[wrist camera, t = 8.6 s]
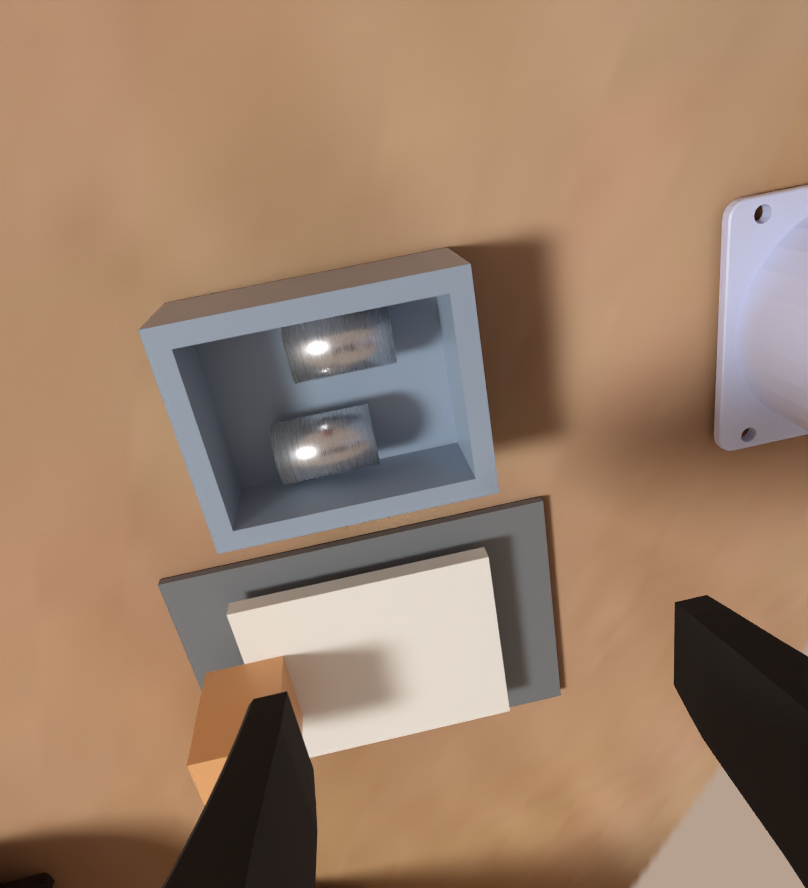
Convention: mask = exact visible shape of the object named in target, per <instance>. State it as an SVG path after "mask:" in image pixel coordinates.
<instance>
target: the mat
mask: <svg viewBox="0 0 808 888" xmlns="http://www.w3.org/2000/svg"><path fill="white" fill-rule="evenodd" d="M481 547H484V548H485V550H486V552H487V555H488V557H489V564H490V571H491V578H492V585H493V593H494V600H495V607H496V614H497V622H498V629H499V636H500V643H501V651H502V658H503V665H504V672H505V680H506V687H507V694H508V701H509V707H513V706H517V705H521V704H526V703H530V702H534V701H539V700H543V699H547V698H551V697H556V696H560V695H561V693H560V682H559V671H558V660H557V649H556V638H555V627H554V616H553V605H552V594H551V583H550V572H549V561H548V550H547V539H546V527H545V516H544V505H543V500H542V499H541V497H536V498H532V499H527V500H523V501H518V502H513V503H509V504H504V505H500V506H495V507H491V508H486V509H481V510H477V511H472V512H468V513H463V514H458V515H454V516H449V517H445V518H440V519H436V520H431V521H426V522H422V523H417V524H413V525H408V526H403V527H399V528H394V529H390V530H385V531H381V532H376V533H371V534H367V535H362V536H358V537H353V538H348V539H344V540H339V541H335V542H330V543H326V544H321V545H316V546H312V547H307V548H303V549H298V550H293V551H289V552H284V553H280V554H275V555H271V556H266V557H261V558H257V559H252V560H248V561H243V562H238V563H234V564H229V565H225V566H220V567H216V568H211V569H206V570H202V571H197V572H193V573H188V574H183V575H179V576H174V577H170V578H165V579H161V580H160V581H159V584H158V586H159V589H160V591H161V594H162V596H163V599H164V601H165V603H166V606H167V608H168V611H169V613H170V615H171V618H172V620H173V623H174V625H175V628H176V630H177V632H178V635H179V637H180V640H181V642H182V645H183V647H184V649H185V652H186V654H187V657H188V659H189V661H190V664H191V666H192V669H193V671H194V674H195V676H196V678H197V681H198V683H199V686H200V688H201V690H202V689H203V684H204V679H205V674H206V673H208V672H212V671H217V670H221V669H226V668H230V667H234V666H239V665H243V664H244V661H243V659H242V656H241V653H240V650H239V648H238V645H237V642H236V640H235V637H234V634H233V631H232V629H231V626H230V623H229V620H228V618H227V610H228V605H229V603H232V602H237V601H241V600H246V599H250V598H255V597H259V596H264V595H268V594H273V593H277V592H282V591H287V590H291V589H296V588H300V587H305V586H309V585H314V584H318V583H323V582H327V581H332V580H336V579H341V578H345V577H350V576H355V575H359V574H364V573H368V572H373V571H377V570H382V569H386V568H391V567H395V566H400V565H404V564H409V563H413V562H418V561H423V560H427V559H432V558H436V557H441V556H445V555H450V554H454V553H459V552H463V551H468V550H472V549H477V548H481Z"/></svg>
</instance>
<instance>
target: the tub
mask: <svg viewBox="0 0 808 888" xmlns="http://www.w3.org/2000/svg"><path fill="white" fill-rule="evenodd" d="M385 306H387V310H388V314H389V318H390V323H391V328H392V333H393V338H394V344H395V350H396V357H397V363H394V364H390V365H385V366H380V367H375V368H370V369H365V370H360V371H356V372H351V373H346V374H341V375H336V376H331V377H326V378H322V379H317V380H312V381H307V382H302V383H297V384H295V383H294V381H293V379H292V376H291V373H290V370H289V366H288V363H287V359H286V355H285V350H284V346H283V341H282V336H281V329H280V327H285V326H290V325H295V324H300V323H305V322H310V321H315V320H320V319H325V318H330V317H335V316H340V315H345V314H350V313H355V312H360V311H365V310H370V309H375V308H380V307H385ZM138 331H139V334H140V337H141V340H142V343H143V345H144V348H145V351H146V354H147V357H148V360H149V362H150V365H151V368H152V371H153V374H154V376H155V379H156V382H157V385H158V388H159V391H160V393H161V396H162V399H163V402H164V405H165V407H166V410H167V413H168V416H169V419H170V421H171V424H172V427H173V430H174V433H175V436H176V438H177V441H178V444H179V447H180V450H181V452H182V455H183V458H184V461H185V464H186V466H187V469H188V472H189V475H190V478H191V481H192V483H193V486H194V489H195V492H196V495H197V497H198V500H199V503H200V506H201V509H202V511H203V514H204V517H205V520H206V523H207V526H208V528H209V531H210V534H211V537H212V540H213V542H214V545H215V548H216V551H217V554H220V553H225V552H229V551H234V550H239V549H243V548H248V547H252V546H257V545H262V544H266V543H271V542H275V541H280V540H285V539H289V538H294V537H298V536H303V535H308V534H312V533H317V532H321V531H326V530H331V529H335V528H340V527H344V526H349V525H354V524H358V523H363V522H367V521H372V520H377V519H381V518H386V517H390V516H395V515H400V514H404V513H409V512H413V511H418V510H423V509H427V508H432V507H436V506H441V505H446V504H450V503H455V502H459V501H464V500H469V499H473V498H478V497H483V496H487V495H492V494H496V493H499V488H498V480H497V471H496V463H495V455H494V447H493V439H492V431H491V423H490V415H489V407H488V399H487V391H486V383H485V374H484V366H483V358H482V350H481V342H480V334H479V326H478V318H477V310H476V302H475V294H474V285H473V277H472V269H471V263H469V262H468V261H466V260H465V259H463V258H462V257H460V256H459V255H458V254H456V253H455V252H453V251H452V250H450V249H449V248H447V247H446V248H441V249H436V250H431V251H426V252H421V253H416V254H411V255H406V256H401V257H396V258H390V259H385V260H380V261H375V262H370V263H365V264H360V265H355V266H350V267H345V268H340V269H335V270H330V271H325V272H320V273H315V274H310V275H305V276H300V277H295V278H290V279H285V280H279V281H274V282H269V283H264V284H259V285H254V286H249V287H244V288H239V289H234V290H229V291H224V292H219V293H214V294H209V295H204V296H199V297H194V298H189V299H184V300H179V301H173V302H168V303H164V304H163V305H162V306H161V307H160V308H159V309H158V310H157V311H156V312H155V313H154V314H153V315H152V316H151V317H150V318H149V319H148V321H147V322H146V323H145V324H144V325H143V326H142V327H141V328H140V329H139V330H138ZM363 404H368V408H369V413H370V417H371V422H372V427H373V431H374V436H375V441H376V445H377V450H378V455H379V460H380V465H375V466H371V467H366V468H361V469H357V470H352V471H347V472H343V473H338V474H333V475H328V476H324V477H319V478H314V479H310V480H305V481H300V482H296V483H291V484H286V485H284V484H283V482H282V480H281V478H280V475H279V473H278V469H277V466H276V462H275V458H274V453H273V448H272V442H271V433H270V426H271V424H272V423H277V422H281V421H286V420H291V419H296V418H301V417H305V416H310V415H315V414H320V413H325V412H329V411H334V410H339V409H344V408H348V407H353V406H358V405H363Z"/></svg>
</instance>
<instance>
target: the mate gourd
mask: <svg viewBox="0 0 808 888" xmlns="http://www.w3.org/2000/svg"><path fill="white" fill-rule="evenodd" d="M53 884H54V880H53V878H52V877H51V876H50V875H49V874H47V873H43V874H38V875H34V876H30V877H27V878H23V879H19V880H15V881H12V882H8V883H4V884H1V885H0V888H53Z"/></svg>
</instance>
